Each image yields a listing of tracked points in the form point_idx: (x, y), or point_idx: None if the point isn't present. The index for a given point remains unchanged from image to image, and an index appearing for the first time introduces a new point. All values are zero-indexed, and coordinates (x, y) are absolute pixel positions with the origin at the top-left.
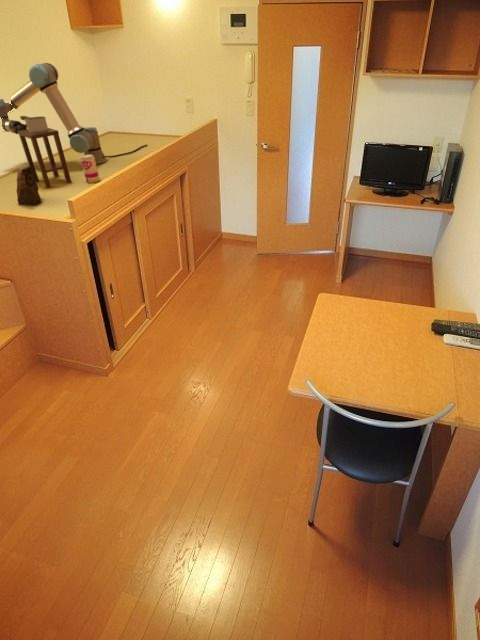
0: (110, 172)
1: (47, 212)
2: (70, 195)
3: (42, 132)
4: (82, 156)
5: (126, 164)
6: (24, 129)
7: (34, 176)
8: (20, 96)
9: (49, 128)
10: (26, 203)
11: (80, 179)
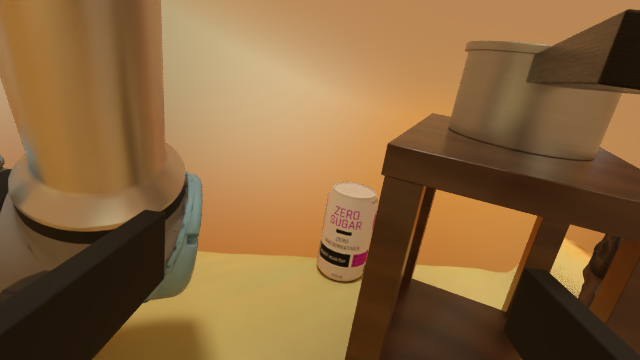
0: (232, 259)
1: (574, 265)
2: (473, 270)
3: None
4: (363, 197)
5: None
6: (597, 331)
7: (598, 243)
8: None
9: (421, 125)
10: None
11: (339, 310)
